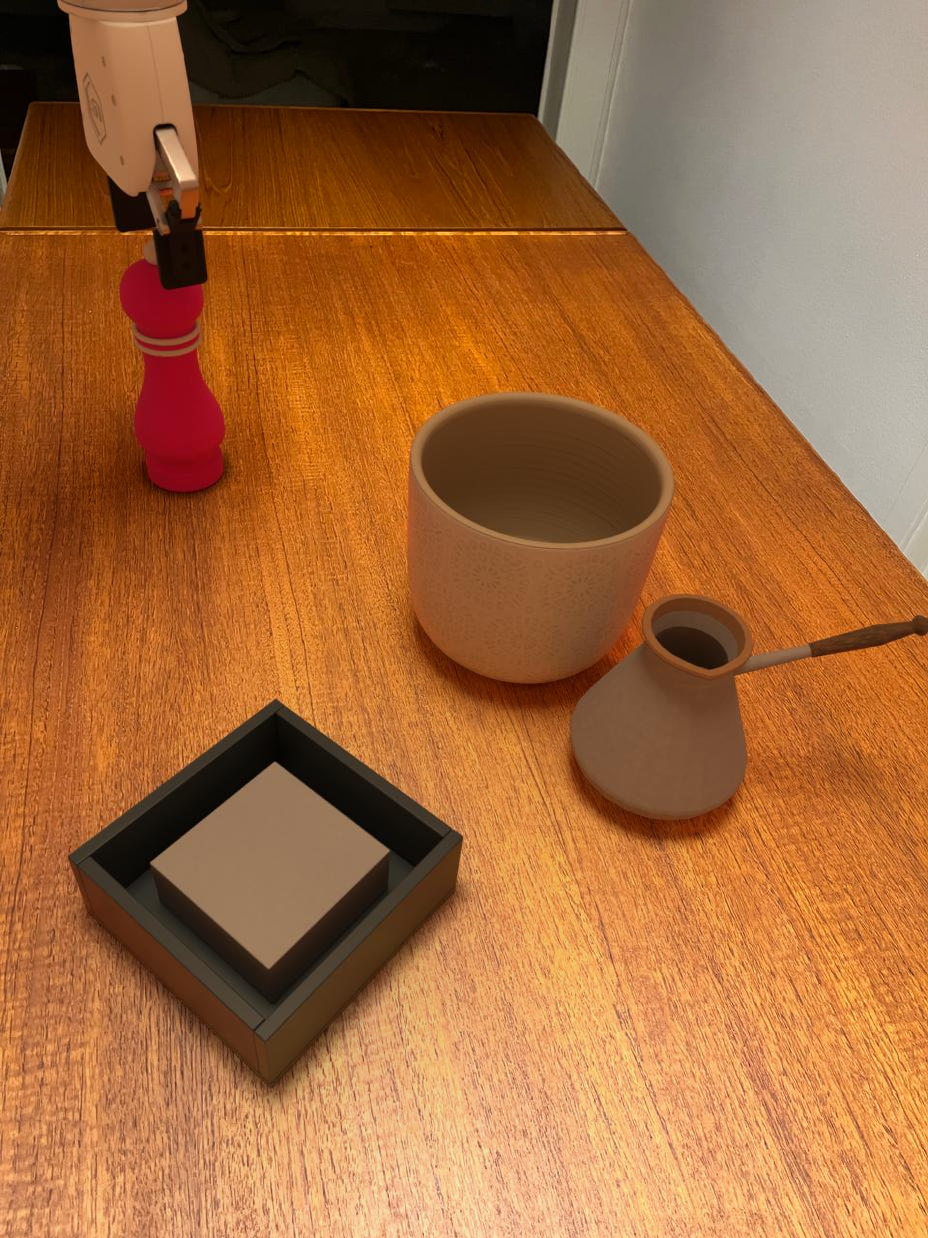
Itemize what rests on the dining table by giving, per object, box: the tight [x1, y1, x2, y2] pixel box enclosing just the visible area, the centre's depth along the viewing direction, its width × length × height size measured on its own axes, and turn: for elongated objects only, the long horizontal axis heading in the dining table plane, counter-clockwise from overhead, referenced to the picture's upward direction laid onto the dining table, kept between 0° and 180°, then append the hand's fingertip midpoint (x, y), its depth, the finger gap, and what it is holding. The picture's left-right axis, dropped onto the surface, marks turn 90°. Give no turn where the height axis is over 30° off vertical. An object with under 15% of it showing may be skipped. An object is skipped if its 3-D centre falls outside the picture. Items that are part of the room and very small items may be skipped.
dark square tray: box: [67, 698, 464, 1089], centre depth 53 cm, size 15×15×6 cm
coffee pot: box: [569, 592, 928, 822], centre depth 60 cm, size 21×12×15 cm, turn 92°
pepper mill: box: [118, 239, 226, 493], centre depth 76 cm, size 7×7×20 cm
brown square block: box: [150, 762, 390, 1004], centre depth 53 cm, size 9×9×4 cm
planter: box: [406, 391, 676, 684], centre depth 67 cm, size 17×17×15 cm
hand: (160, 255), depth 70 cm, fingers open, 9 cm apart
